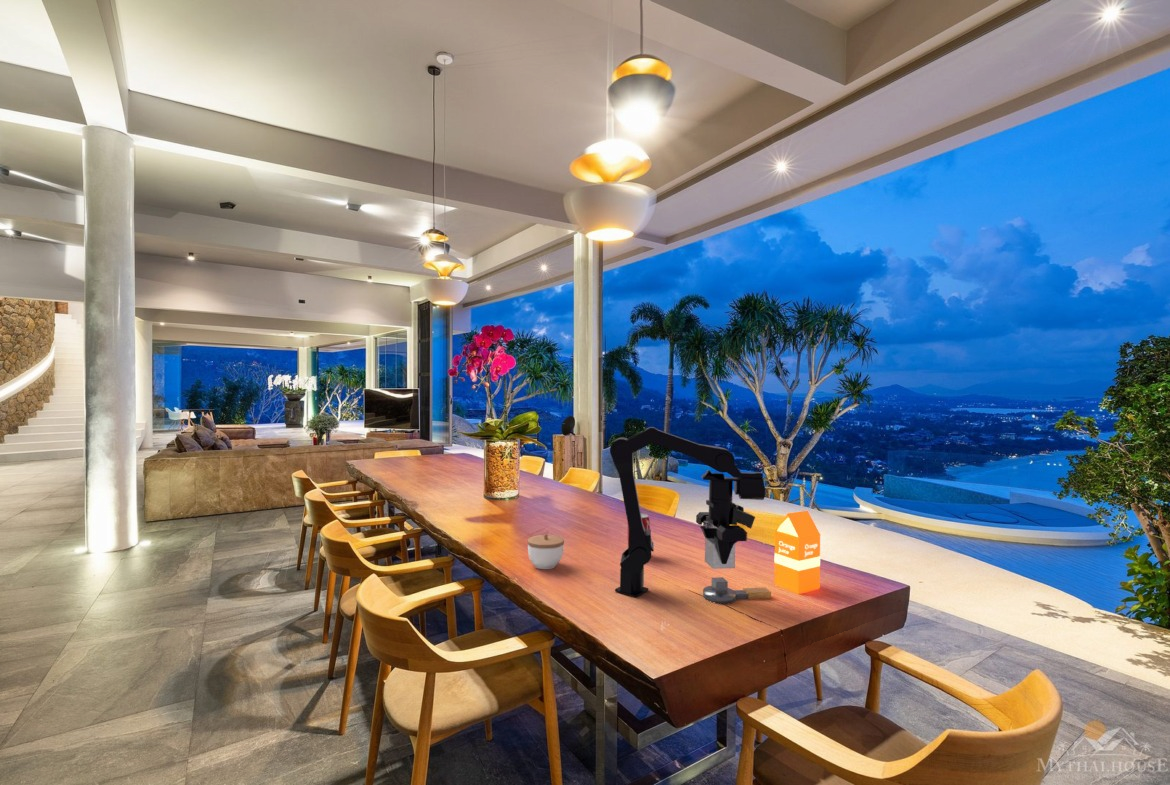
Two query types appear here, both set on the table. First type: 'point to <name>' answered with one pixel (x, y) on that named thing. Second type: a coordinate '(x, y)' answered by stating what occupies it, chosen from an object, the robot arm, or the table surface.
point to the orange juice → (797, 553)
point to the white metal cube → (717, 555)
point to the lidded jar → (545, 550)
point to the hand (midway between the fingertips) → (719, 560)
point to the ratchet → (731, 592)
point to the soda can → (645, 522)
